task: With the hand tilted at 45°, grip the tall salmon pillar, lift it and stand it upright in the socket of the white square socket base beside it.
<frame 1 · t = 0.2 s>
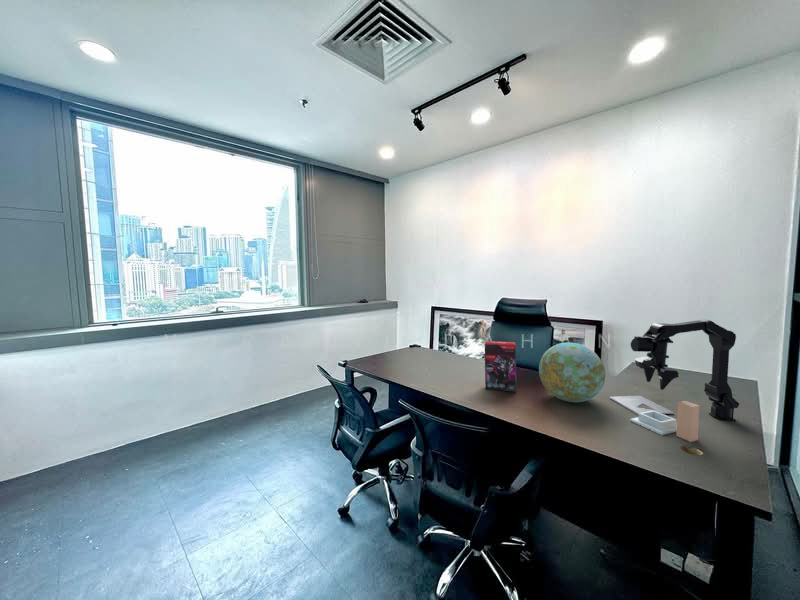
hand: (654, 385, 144), 14 cm above the table, tool pointing down, fingers open, 9 cm apart
graphics card box: (500, 389, 184), on the table
play button award: (639, 407, 156), on the table
white square socket base: (656, 425, 137), on the table
tall salmon pillar: (686, 437, 127), on the table
decorative globe: (570, 400, 166), on the table
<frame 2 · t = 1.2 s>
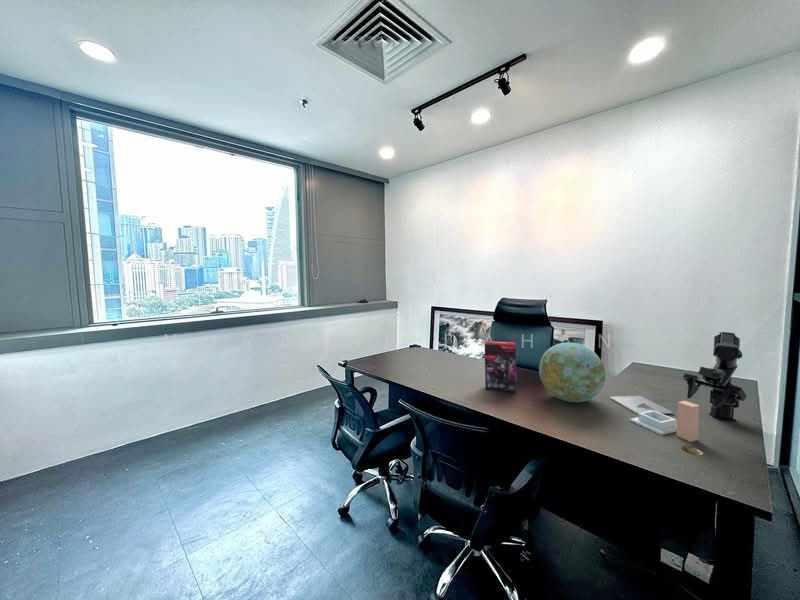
hand: (701, 402, 128), 13 cm above the table, tool tilted 45°, fingers open, 9 cm apart
nothing on the table moved.
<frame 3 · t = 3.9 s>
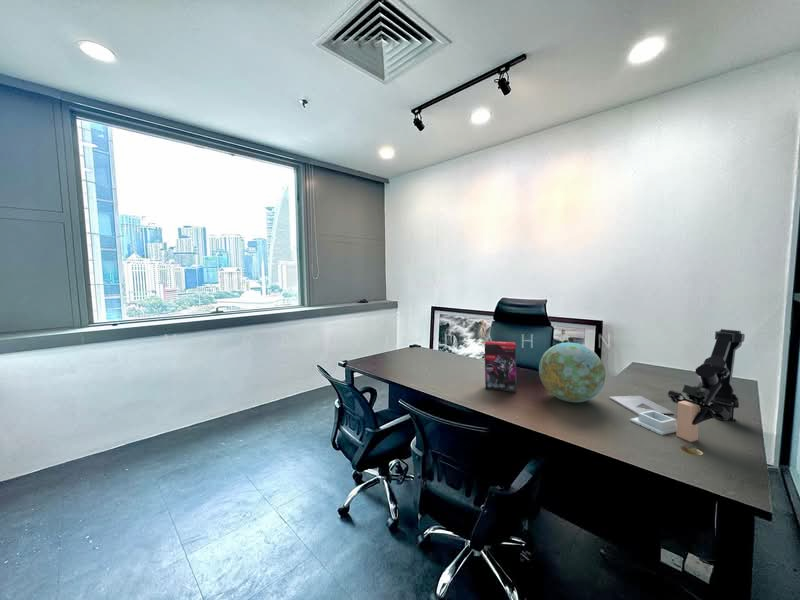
hand: (685, 421, 126), 7 cm above the table, tool tilted 45°, fingers closed on tall salmon pillar, 5 cm apart
tall salmon pillar: (686, 437, 127), on the table, touching gripper
everything else where it was.
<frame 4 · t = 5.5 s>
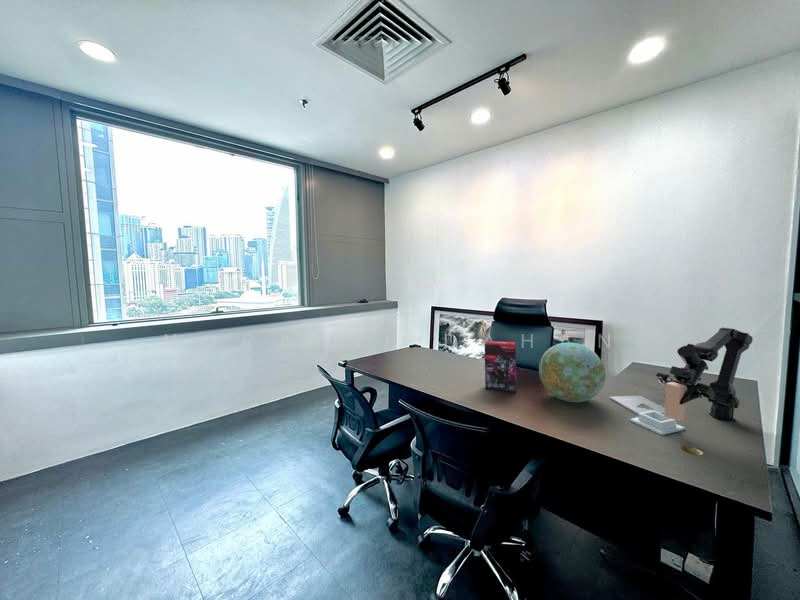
hand: (672, 401, 130), 13 cm above the table, tool tilted 45°, fingers closed on tall salmon pillar, 5 cm apart
tall salmon pillar: (674, 417, 131), point 6 cm above the table, touching gripper
everything else where it was.
when the fingers open (9 cm above the table, at t = 7.3 s): tall salmon pillar drops 1 cm, resting on white square socket base.
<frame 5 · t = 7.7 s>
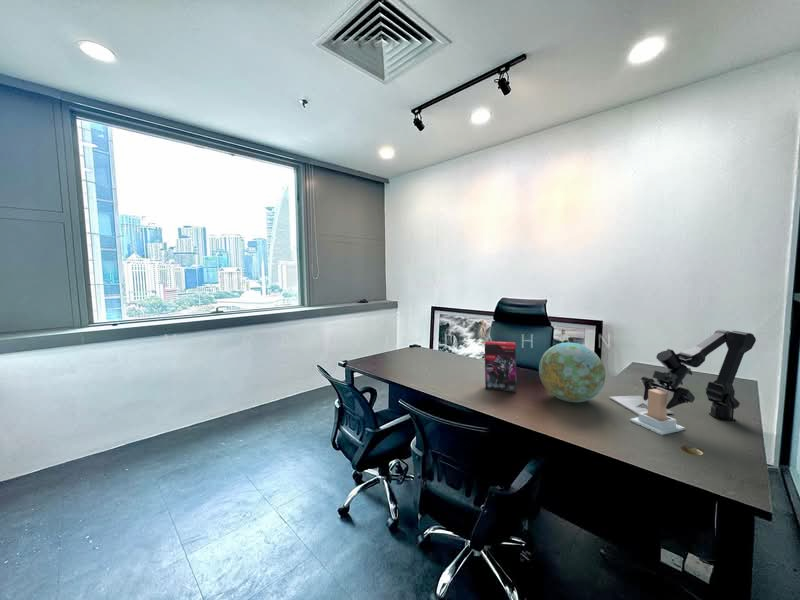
hand: (655, 404, 136), 10 cm above the table, tool tilted 45°, fingers open, 9 cm apart
tall salmon pillar: (656, 422, 137), point 1 cm above the table, touching white square socket base
everything else where it was.
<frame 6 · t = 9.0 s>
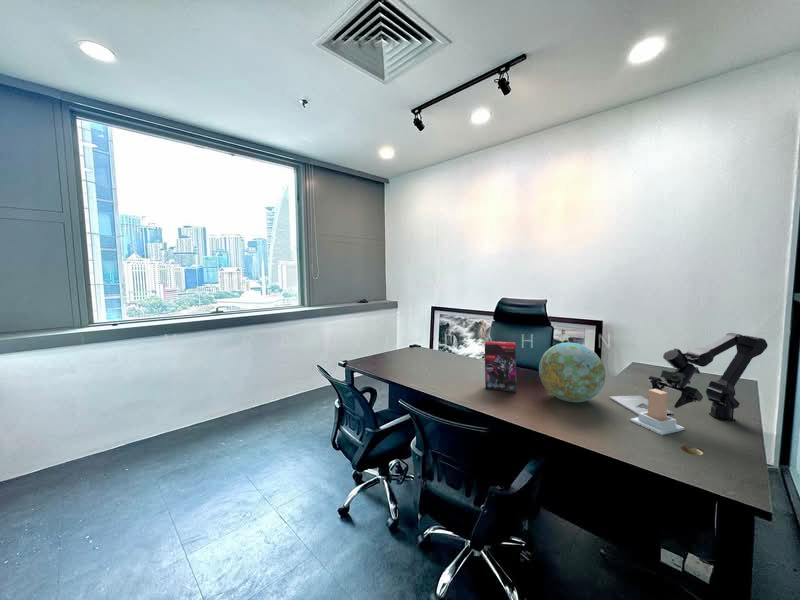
hand: (663, 403, 137), 9 cm above the table, tool tilted 45°, fingers open, 9 cm apart
nothing on the table moved.
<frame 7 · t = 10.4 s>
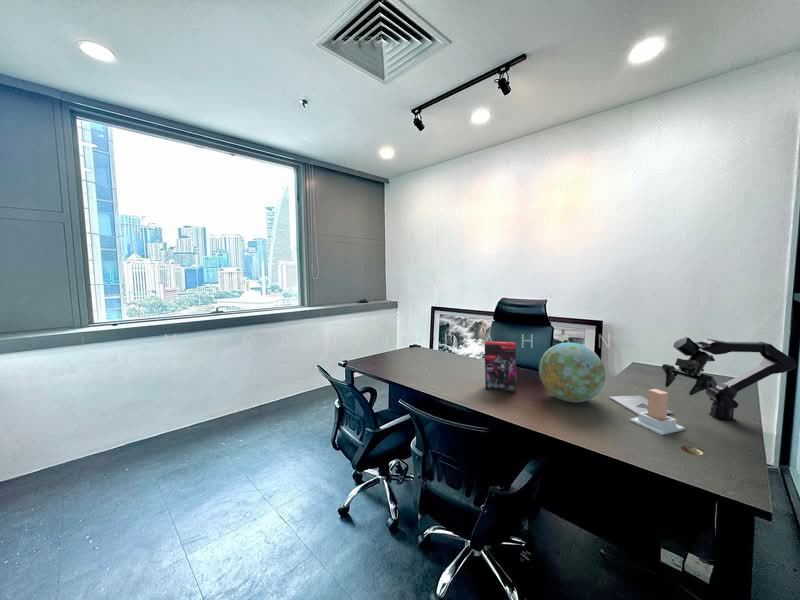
hand: (677, 390, 140), 14 cm above the table, tool tilted 45°, fingers open, 9 cm apart
nothing on the table moved.
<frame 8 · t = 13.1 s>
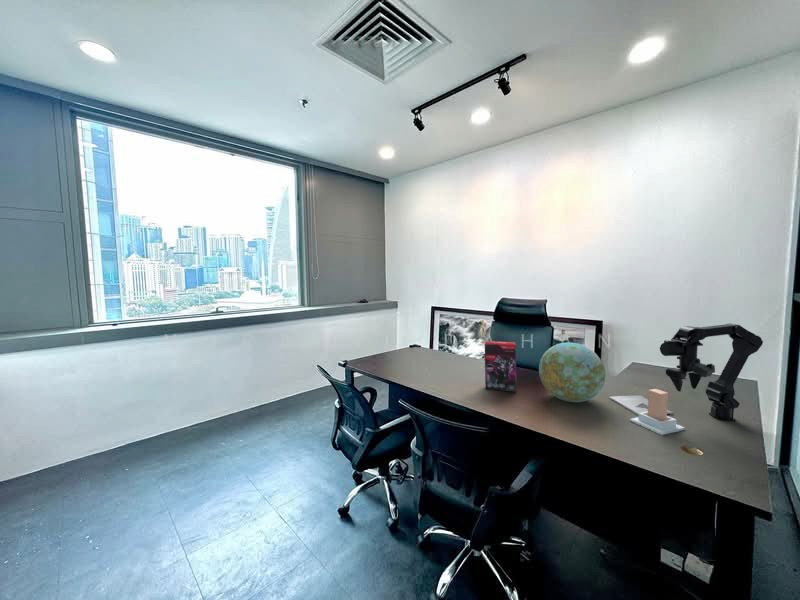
hand: (686, 389, 142), 13 cm above the table, tool pointing down, fingers open, 9 cm apart
nothing on the table moved.
at the end: tall salmon pillar 0.0 cm off-centre on the white square socket base, point 1.0 cm above the white square socket base's base; tall salmon pillar tilted 0°; the gripper is holding nothing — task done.
